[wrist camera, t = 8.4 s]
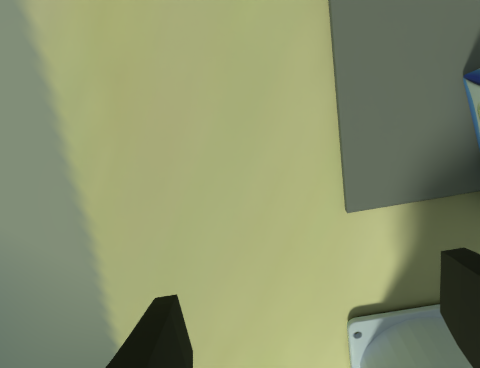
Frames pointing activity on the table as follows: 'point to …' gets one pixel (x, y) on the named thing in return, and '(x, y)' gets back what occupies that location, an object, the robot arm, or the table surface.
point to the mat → (405, 99)
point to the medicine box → (474, 98)
